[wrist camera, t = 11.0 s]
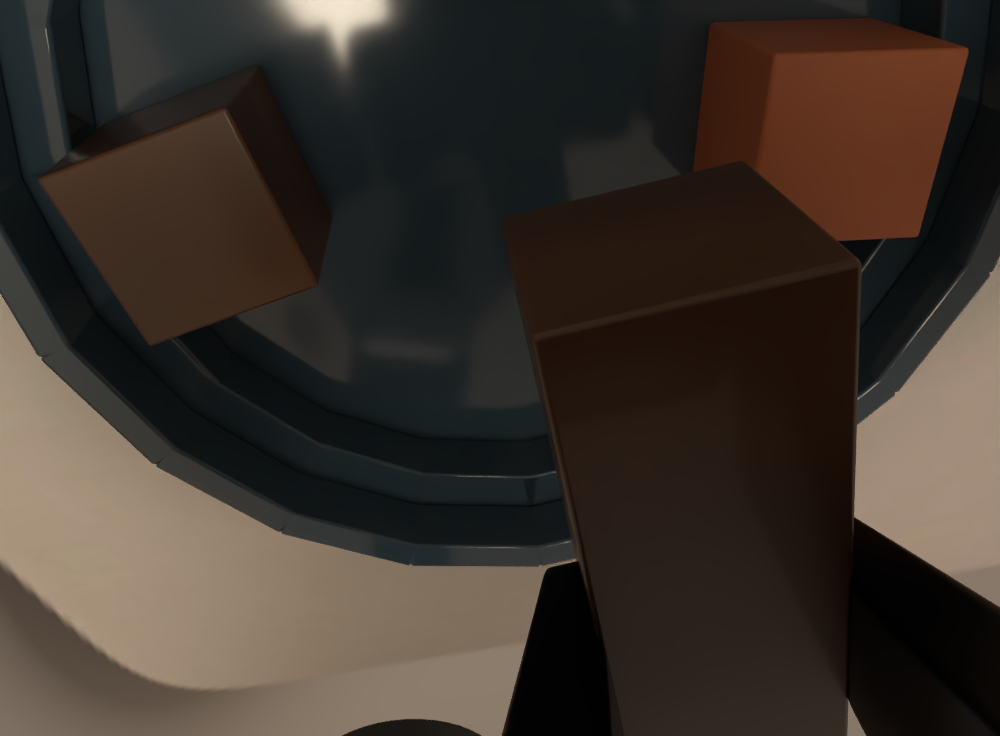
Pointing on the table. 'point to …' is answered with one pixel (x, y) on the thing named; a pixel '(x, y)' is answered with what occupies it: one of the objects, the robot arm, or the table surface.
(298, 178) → the block
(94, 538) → the table surface
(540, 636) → the robot arm
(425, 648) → the table surface
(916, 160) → the block
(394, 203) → the bowl
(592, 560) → the stick
